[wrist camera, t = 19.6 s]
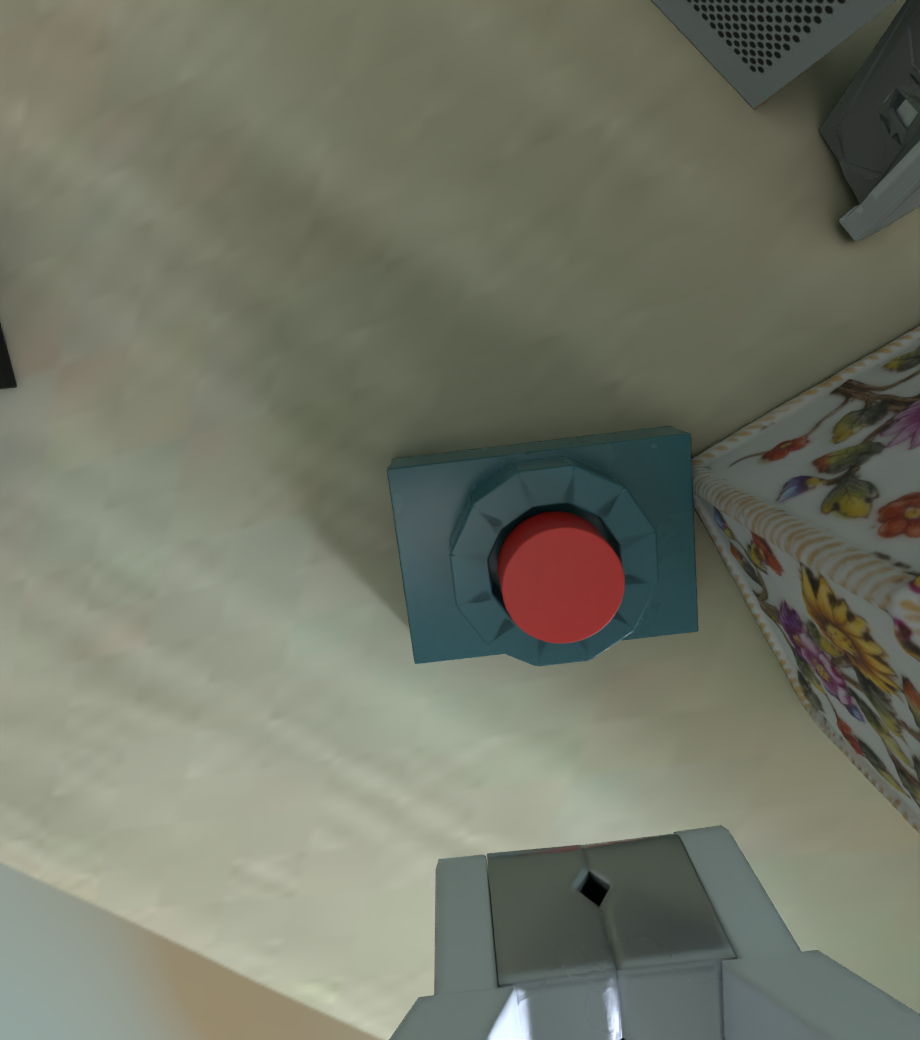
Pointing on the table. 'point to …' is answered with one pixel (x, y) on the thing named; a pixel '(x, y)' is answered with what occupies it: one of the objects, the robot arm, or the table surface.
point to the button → (559, 577)
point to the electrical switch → (881, 129)
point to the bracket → (5, 366)
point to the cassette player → (767, 36)
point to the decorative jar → (835, 554)
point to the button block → (530, 491)
